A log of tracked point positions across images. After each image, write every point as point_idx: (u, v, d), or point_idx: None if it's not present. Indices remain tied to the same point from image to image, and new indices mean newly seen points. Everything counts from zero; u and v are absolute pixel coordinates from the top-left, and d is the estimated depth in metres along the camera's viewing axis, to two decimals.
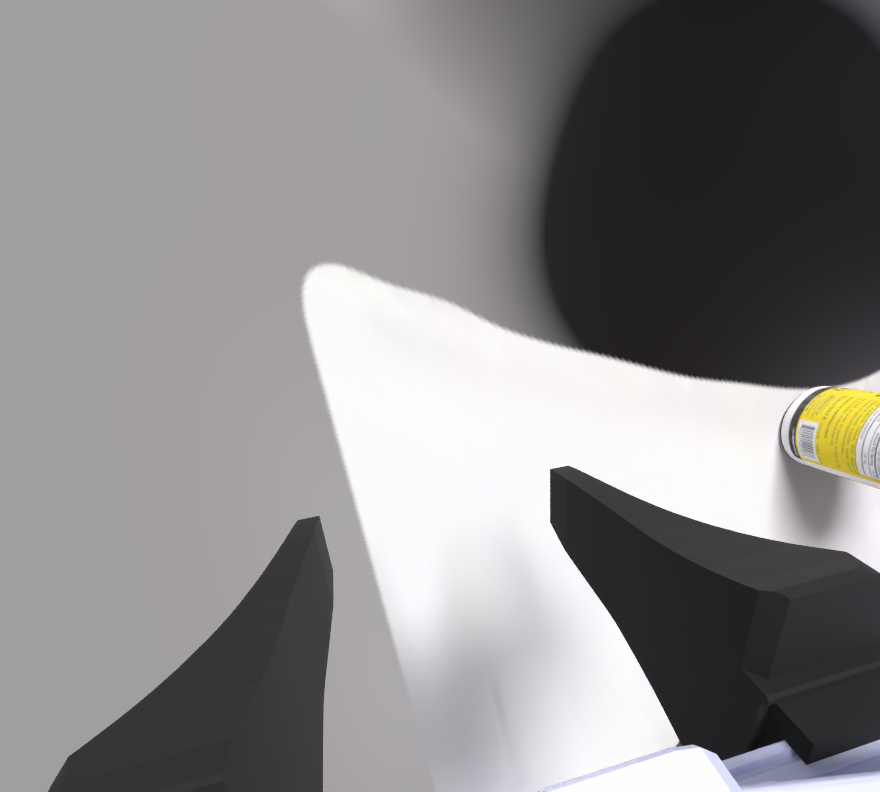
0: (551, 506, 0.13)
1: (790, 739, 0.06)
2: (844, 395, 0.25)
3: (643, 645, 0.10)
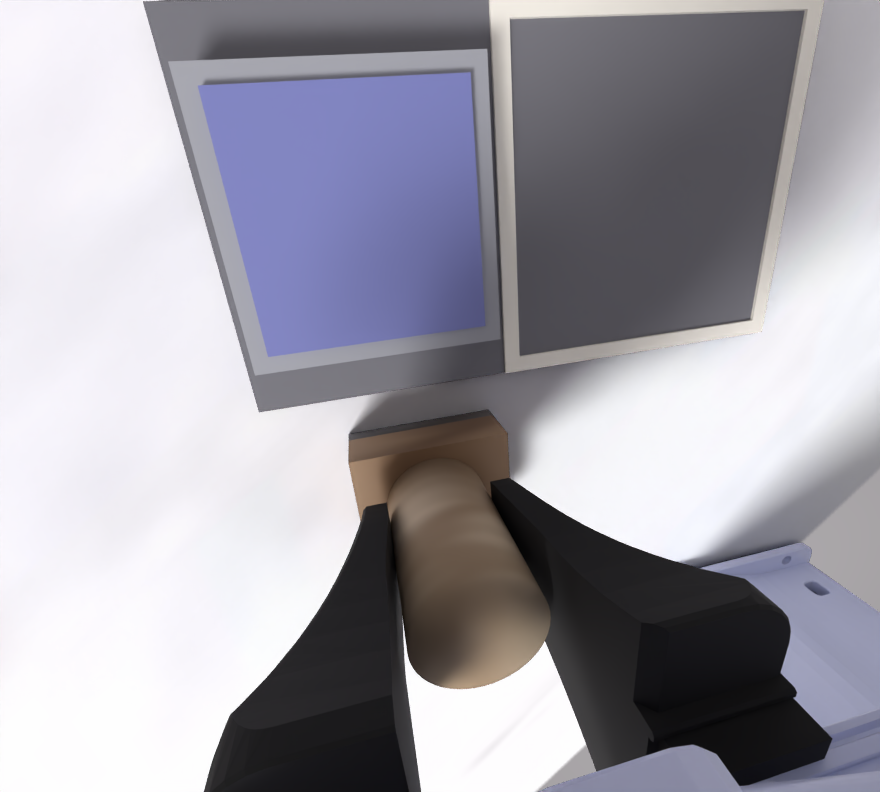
0: None
1: None
2: None
3: (565, 667, 0.09)
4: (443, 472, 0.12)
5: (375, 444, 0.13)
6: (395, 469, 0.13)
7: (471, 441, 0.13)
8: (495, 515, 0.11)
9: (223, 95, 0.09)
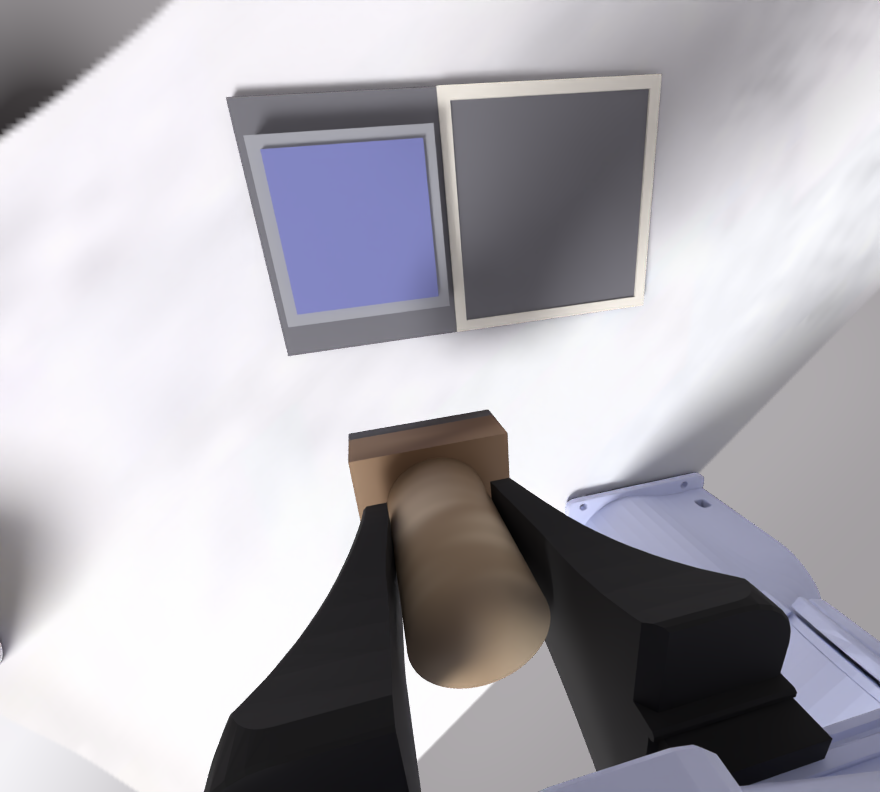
0: None
1: None
2: None
3: (565, 667, 0.09)
4: (442, 472, 0.12)
5: (375, 444, 0.13)
6: (395, 469, 0.13)
7: (471, 441, 0.13)
8: (495, 515, 0.11)
9: (274, 154, 0.15)
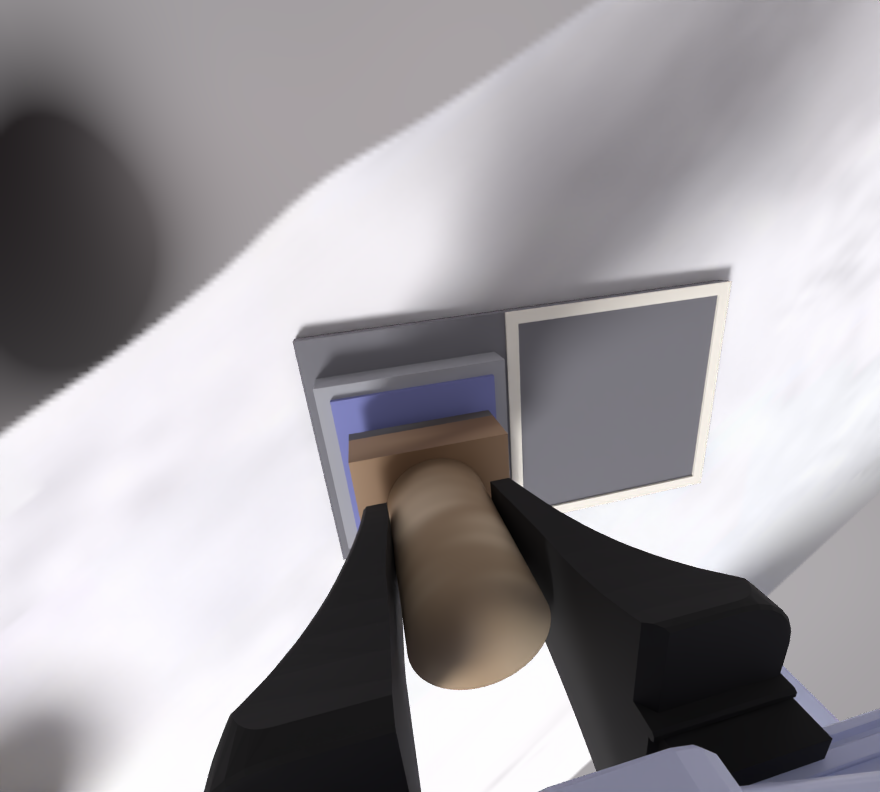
0: None
1: None
2: None
3: (565, 667, 0.09)
4: (443, 472, 0.12)
5: (375, 444, 0.13)
6: (395, 469, 0.13)
7: (471, 441, 0.13)
8: (495, 515, 0.11)
9: (343, 402, 0.15)
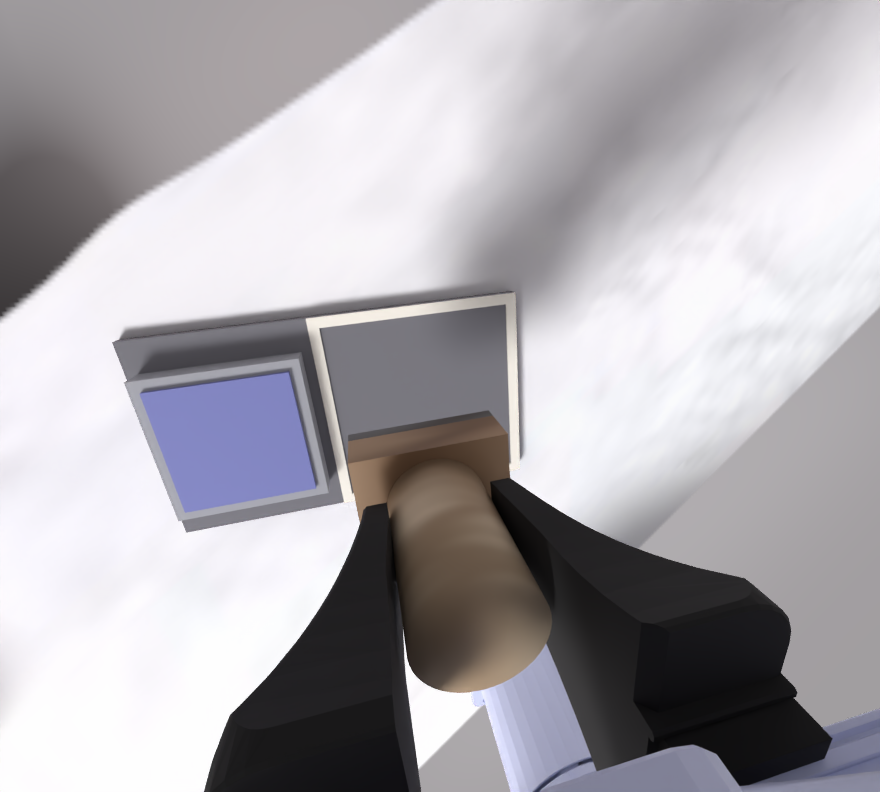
0: None
1: None
2: None
3: (565, 667, 0.09)
4: (443, 473, 0.12)
5: (375, 445, 0.13)
6: (395, 470, 0.13)
7: (471, 442, 0.13)
8: (496, 516, 0.11)
9: (154, 393, 0.18)
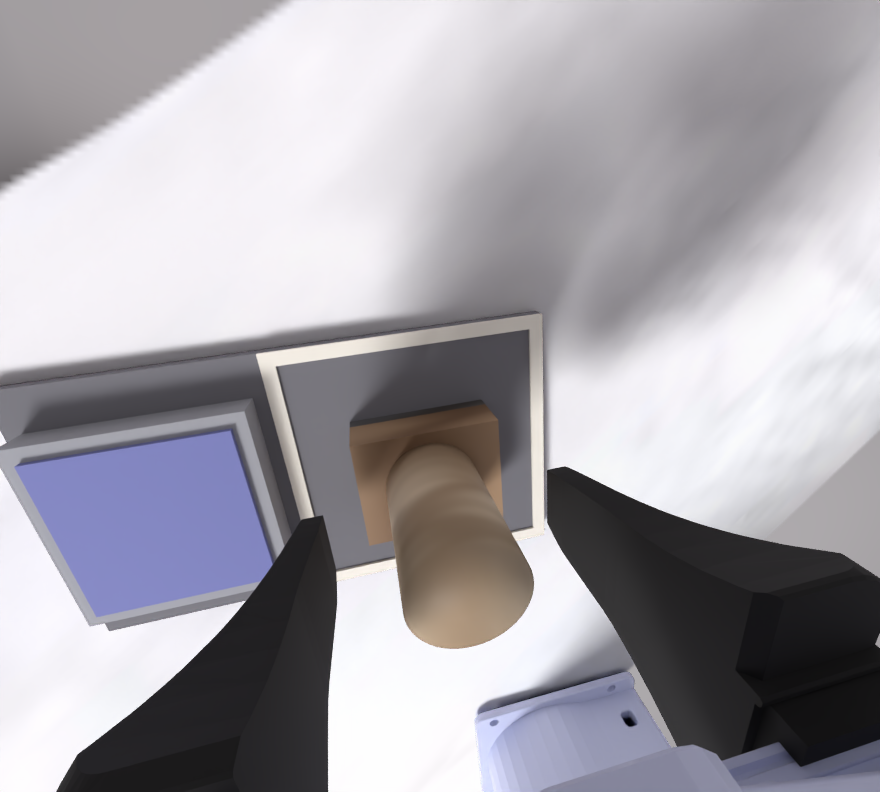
0: (548, 507, 0.13)
1: (783, 741, 0.06)
2: None
3: (639, 646, 0.10)
4: (437, 455, 0.13)
5: (374, 430, 0.14)
6: (393, 453, 0.14)
7: (464, 427, 0.14)
8: (485, 493, 0.12)
9: (37, 465, 0.12)
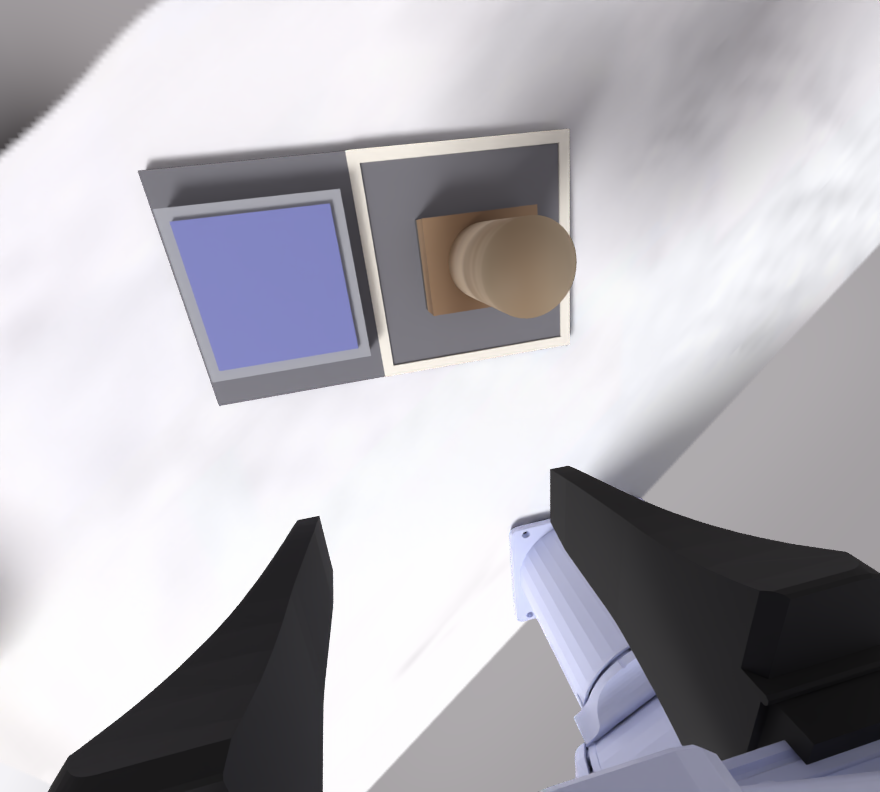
0: (551, 506, 0.13)
1: (790, 739, 0.06)
2: None
3: (643, 645, 0.10)
4: None
5: None
6: (455, 228, 0.17)
7: (510, 208, 0.17)
8: None
9: (185, 224, 0.16)
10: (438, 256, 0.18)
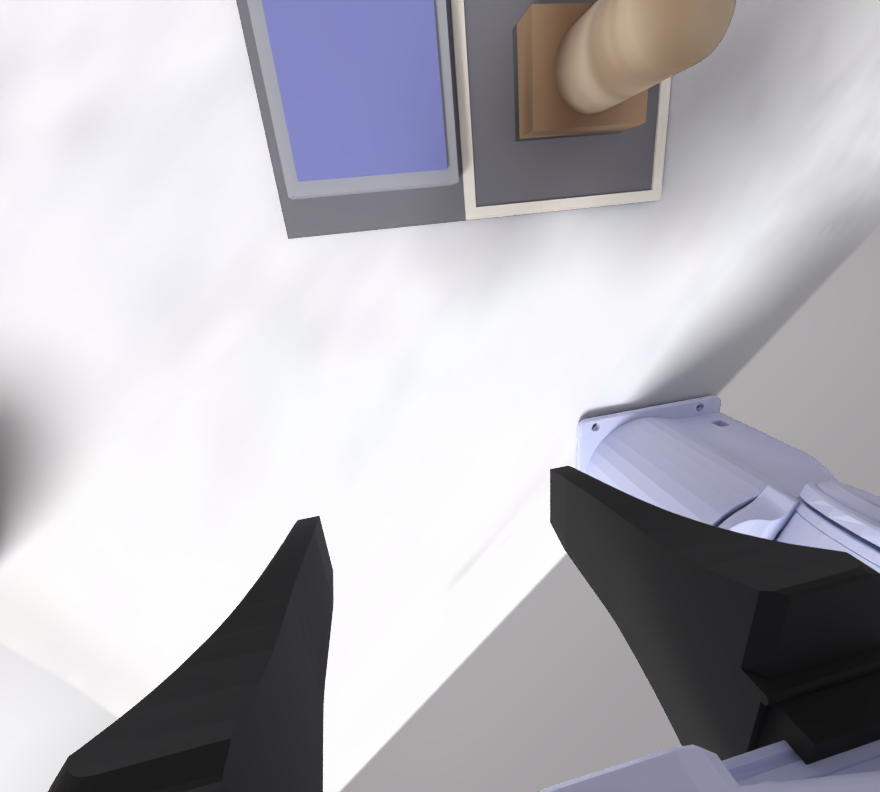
0: (551, 506, 0.13)
1: (790, 739, 0.06)
2: None
3: (643, 645, 0.10)
4: None
5: None
6: (565, 21, 0.16)
7: None
8: None
9: None
10: (545, 54, 0.16)
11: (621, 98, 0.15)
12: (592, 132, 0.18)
